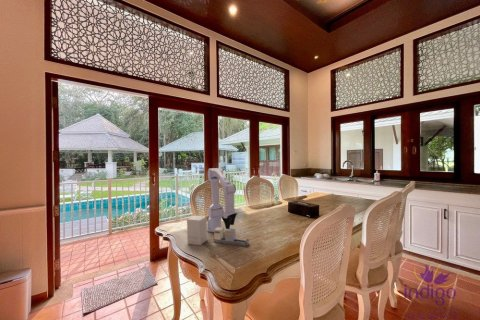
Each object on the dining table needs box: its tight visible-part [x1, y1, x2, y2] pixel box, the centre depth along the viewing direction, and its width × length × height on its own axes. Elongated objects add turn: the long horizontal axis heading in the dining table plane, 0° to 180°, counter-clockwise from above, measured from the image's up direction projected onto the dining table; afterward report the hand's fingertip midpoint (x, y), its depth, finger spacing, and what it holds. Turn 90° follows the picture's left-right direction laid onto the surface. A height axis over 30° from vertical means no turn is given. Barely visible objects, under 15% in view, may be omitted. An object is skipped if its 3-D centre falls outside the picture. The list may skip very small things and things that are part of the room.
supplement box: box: [186, 215, 208, 246], centre depth 128 cm, size 9×9×15 cm
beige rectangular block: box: [213, 227, 224, 240], centre depth 127 cm, size 4×4×6 cm
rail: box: [213, 237, 250, 248], centre depth 125 cm, size 21×4×3 cm, turn 71°
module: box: [224, 228, 237, 241], centre depth 125 cm, size 5×4×6 cm
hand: (229, 226), depth 125 cm, fingers open, 7 cm apart
